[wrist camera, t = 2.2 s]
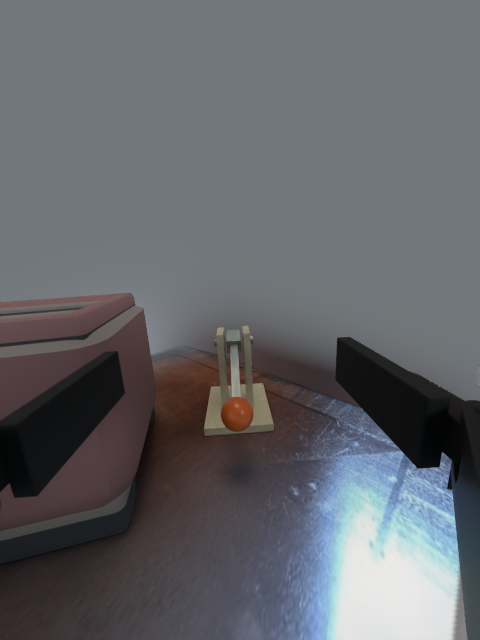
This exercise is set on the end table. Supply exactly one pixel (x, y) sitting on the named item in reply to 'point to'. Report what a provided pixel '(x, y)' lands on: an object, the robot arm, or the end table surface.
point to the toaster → (107, 438)
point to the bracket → (248, 391)
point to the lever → (235, 390)
